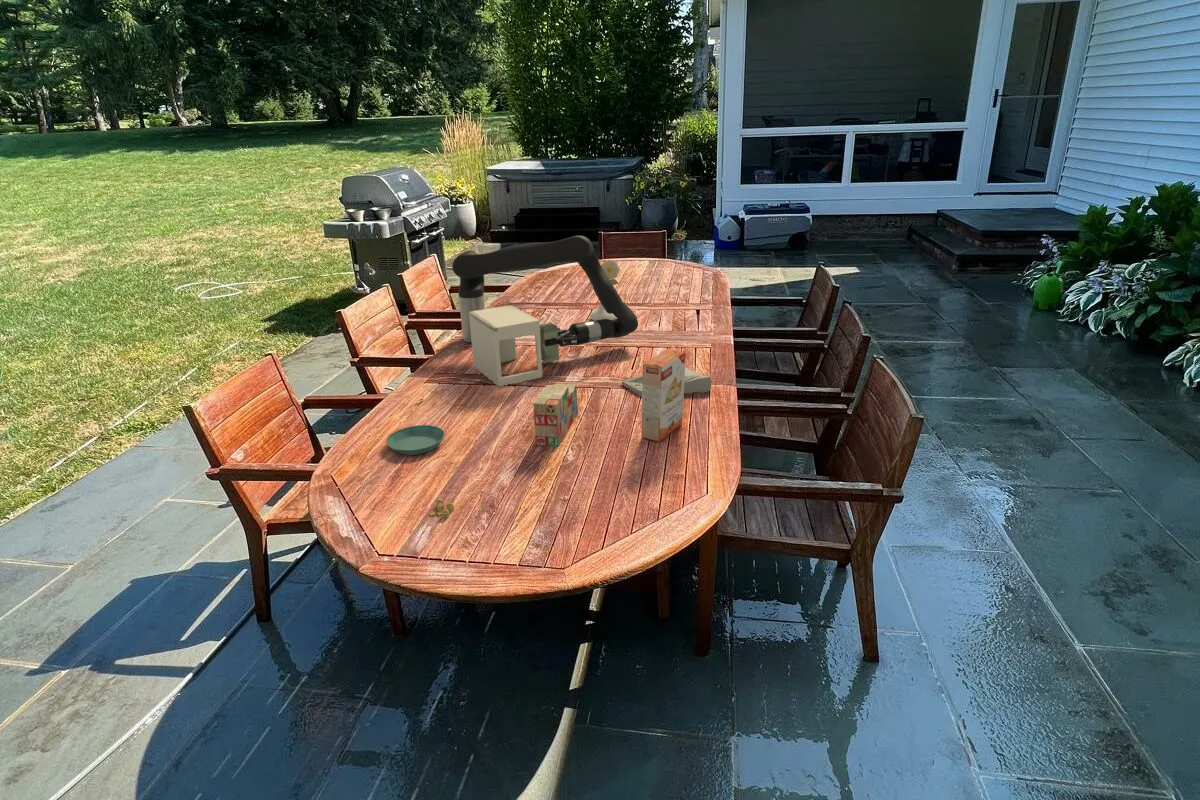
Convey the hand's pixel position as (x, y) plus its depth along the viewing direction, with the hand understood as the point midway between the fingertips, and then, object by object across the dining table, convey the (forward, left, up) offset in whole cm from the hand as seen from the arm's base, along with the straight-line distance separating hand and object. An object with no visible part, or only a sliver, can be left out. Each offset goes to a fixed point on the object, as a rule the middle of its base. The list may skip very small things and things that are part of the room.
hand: (541, 341), depth 226 cm
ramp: (+40, +23, -9) cm, 47 cm away
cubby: (0, -12, -8) cm, 15 cm away
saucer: (+38, -54, -9) cm, 67 cm away
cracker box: (+65, +5, -9) cm, 66 cm away
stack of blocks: (+49, -19, -9) cm, 53 cm away
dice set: (+73, -59, -9) cm, 94 cm away
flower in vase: (-35, +46, -9) cm, 58 cm away
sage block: (0, +3, -7) cm, 7 cm away
